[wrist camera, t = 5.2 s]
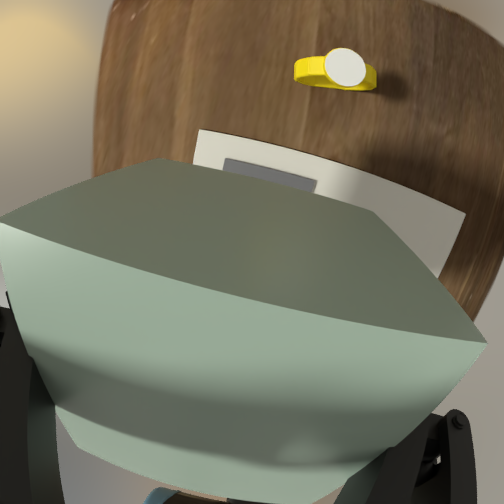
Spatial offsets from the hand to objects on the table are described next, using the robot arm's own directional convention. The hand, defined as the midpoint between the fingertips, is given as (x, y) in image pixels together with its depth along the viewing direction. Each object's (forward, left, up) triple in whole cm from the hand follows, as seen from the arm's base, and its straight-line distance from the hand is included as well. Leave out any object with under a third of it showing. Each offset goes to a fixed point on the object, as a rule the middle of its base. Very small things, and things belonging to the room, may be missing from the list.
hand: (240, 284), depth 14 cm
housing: (0, 0, -1) cm, 1 cm away
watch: (+13, -3, -13) cm, 18 cm away
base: (0, -7, -12) cm, 14 cm away
